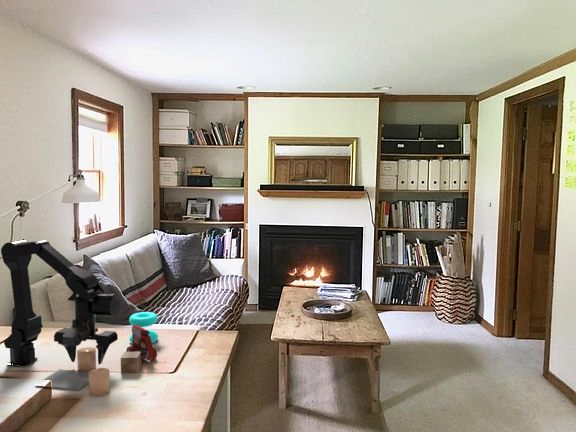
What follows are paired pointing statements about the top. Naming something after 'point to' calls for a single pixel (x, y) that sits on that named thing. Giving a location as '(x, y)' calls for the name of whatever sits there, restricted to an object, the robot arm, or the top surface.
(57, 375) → the slate board
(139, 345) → the toy fire truck
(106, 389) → the peach domed cap
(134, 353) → the walnut block
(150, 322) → the donuts
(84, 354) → the peach domed cylinder
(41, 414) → the top surface
